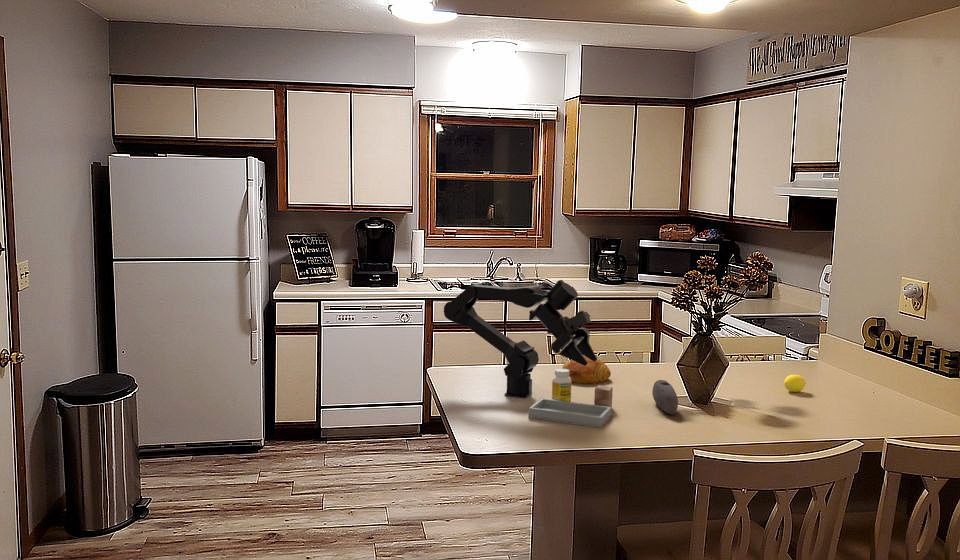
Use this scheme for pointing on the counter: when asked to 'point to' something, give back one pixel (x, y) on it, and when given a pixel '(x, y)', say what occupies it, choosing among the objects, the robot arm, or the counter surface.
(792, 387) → the lemon
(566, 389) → the supplement bottle
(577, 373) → the croissant
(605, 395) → the block
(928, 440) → the counter surface
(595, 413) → the tray
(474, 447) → the counter surface
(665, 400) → the perforated stone tool
